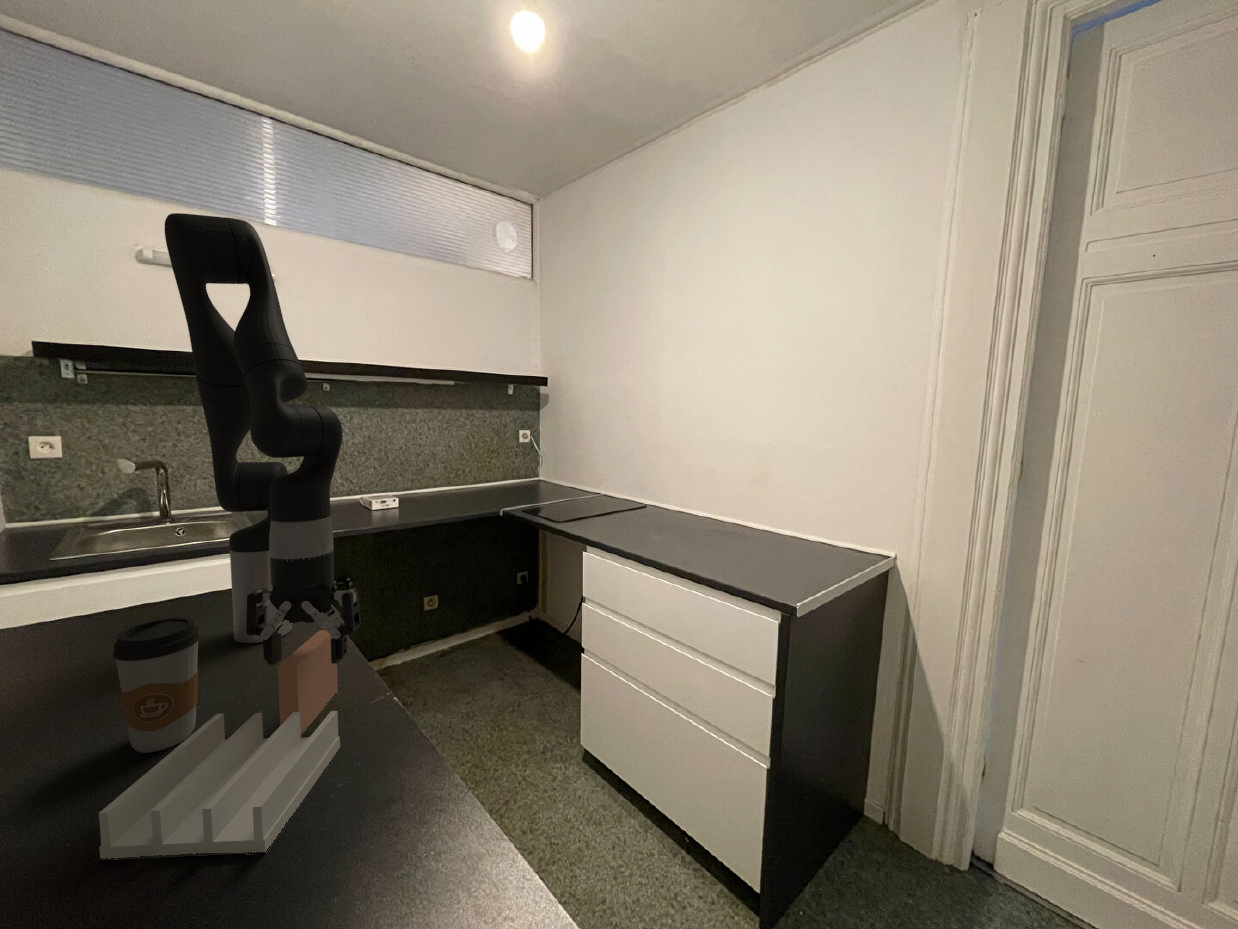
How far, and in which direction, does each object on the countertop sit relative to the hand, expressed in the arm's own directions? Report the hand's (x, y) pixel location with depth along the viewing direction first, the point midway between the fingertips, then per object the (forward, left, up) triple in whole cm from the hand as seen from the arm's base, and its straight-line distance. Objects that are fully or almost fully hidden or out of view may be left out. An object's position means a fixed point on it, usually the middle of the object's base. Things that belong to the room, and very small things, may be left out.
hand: (306, 661), depth 72 cm
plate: (-1, 0, -8) cm, 8 cm away
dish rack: (+15, 0, -8) cm, 17 cm away
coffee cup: (+4, -16, -8) cm, 18 cm away
